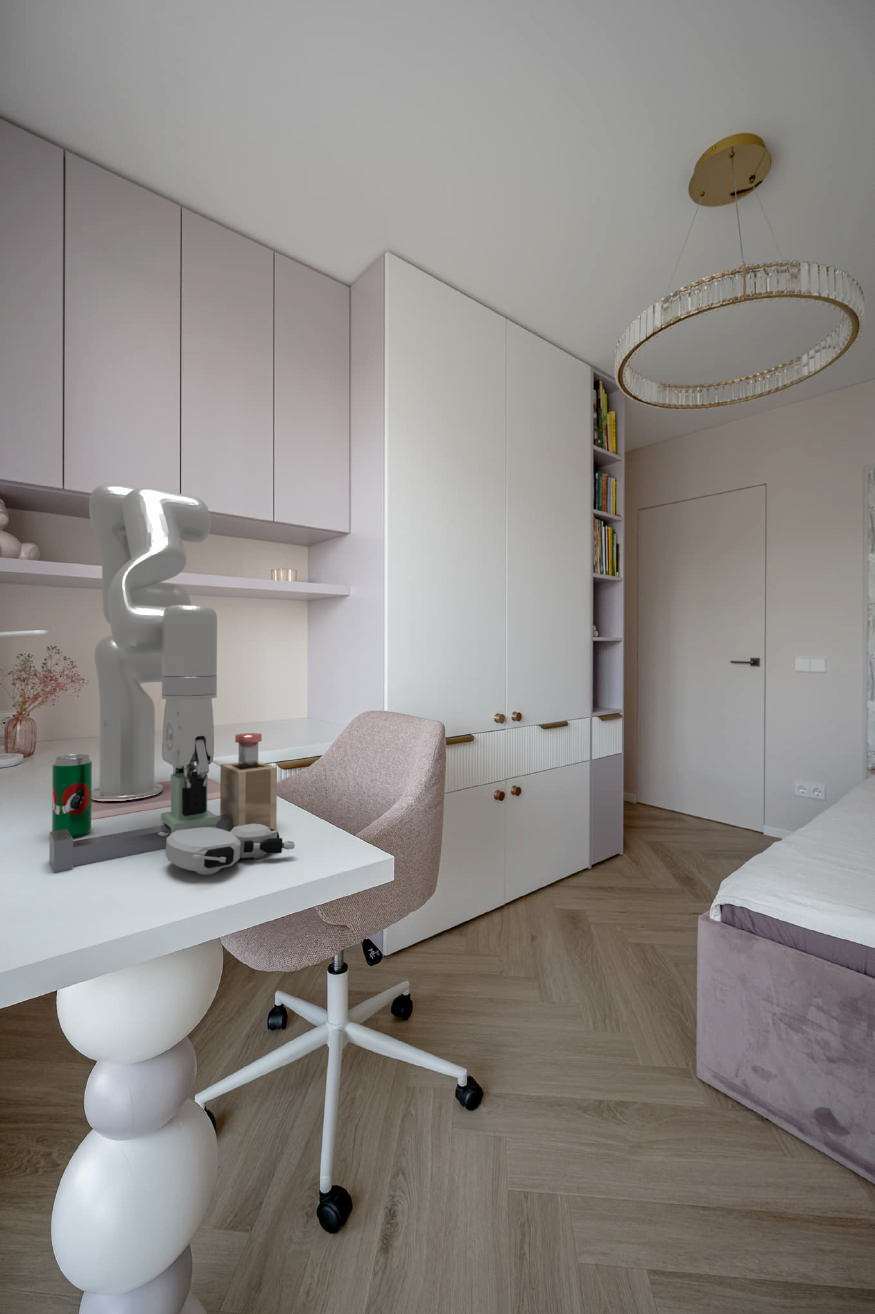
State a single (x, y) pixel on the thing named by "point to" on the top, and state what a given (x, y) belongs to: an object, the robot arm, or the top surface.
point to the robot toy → (221, 846)
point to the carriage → (175, 816)
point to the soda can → (72, 794)
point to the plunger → (248, 750)
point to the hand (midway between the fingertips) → (189, 809)
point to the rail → (110, 845)
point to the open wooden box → (249, 794)
